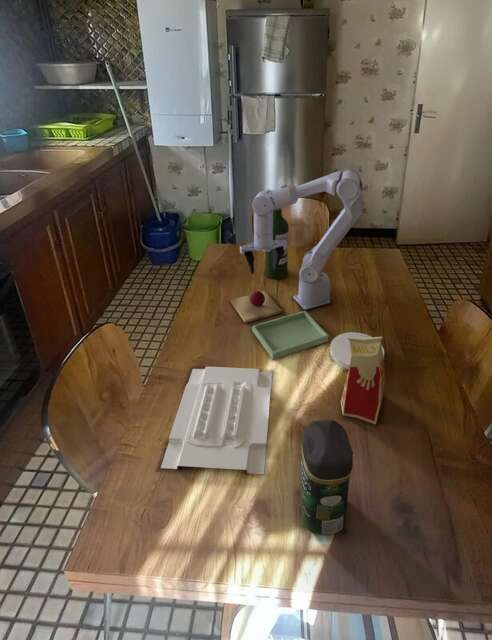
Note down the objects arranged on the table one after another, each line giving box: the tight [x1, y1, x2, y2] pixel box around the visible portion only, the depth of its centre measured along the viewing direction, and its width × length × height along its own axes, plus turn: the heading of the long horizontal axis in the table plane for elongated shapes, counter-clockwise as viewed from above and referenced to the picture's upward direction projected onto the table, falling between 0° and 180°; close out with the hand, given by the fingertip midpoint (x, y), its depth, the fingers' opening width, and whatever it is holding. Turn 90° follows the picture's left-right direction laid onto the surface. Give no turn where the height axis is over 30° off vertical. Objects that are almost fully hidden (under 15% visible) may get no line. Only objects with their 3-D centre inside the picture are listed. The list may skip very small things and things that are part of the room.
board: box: [230, 290, 283, 324], centre depth 135 cm, size 12×12×1 cm
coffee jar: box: [299, 419, 354, 536], centre depth 74 cm, size 10×8×19 cm
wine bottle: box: [264, 208, 290, 280], centre depth 147 cm, size 8×8×30 cm
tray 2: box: [251, 310, 330, 360], centre depth 122 cm, size 17×13×2 cm
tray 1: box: [160, 366, 274, 475], centre depth 97 cm, size 20×28×4 cm
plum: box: [250, 290, 265, 306], centre depth 133 cm, size 5×5×5 cm
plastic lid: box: [329, 331, 385, 371], centre depth 115 cm, size 14×14×2 cm
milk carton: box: [340, 336, 386, 425], centre depth 96 cm, size 9×9×20 cm
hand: (263, 270), depth 137 cm, fingers open, 7 cm apart
